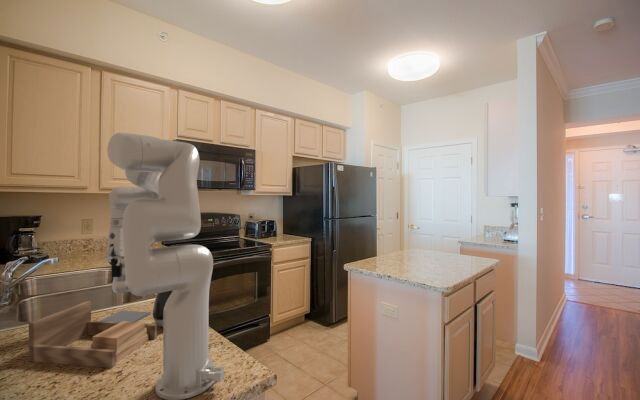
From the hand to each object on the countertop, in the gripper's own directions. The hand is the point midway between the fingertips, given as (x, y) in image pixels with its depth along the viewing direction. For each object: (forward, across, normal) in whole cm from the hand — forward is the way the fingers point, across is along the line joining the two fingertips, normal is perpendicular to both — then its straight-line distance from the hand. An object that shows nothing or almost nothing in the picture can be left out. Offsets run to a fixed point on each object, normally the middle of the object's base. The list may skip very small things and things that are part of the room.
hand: (123, 274), depth 107 cm
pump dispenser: (+16, -2, -19) cm, 25 cm away
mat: (+16, 0, 0) cm, 16 cm away
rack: (+16, -20, -9) cm, 27 cm away
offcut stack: (+16, -20, -16) cm, 30 cm away
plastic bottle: (+7, 0, 0) cm, 7 cm away
